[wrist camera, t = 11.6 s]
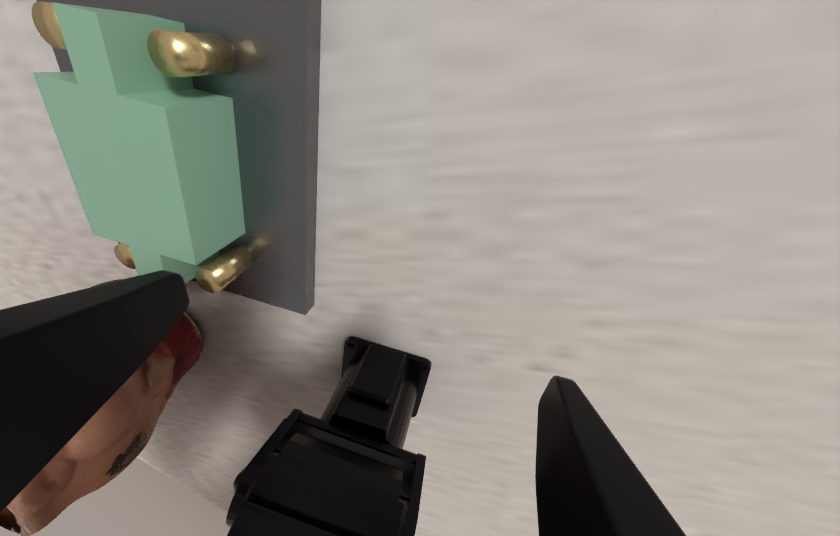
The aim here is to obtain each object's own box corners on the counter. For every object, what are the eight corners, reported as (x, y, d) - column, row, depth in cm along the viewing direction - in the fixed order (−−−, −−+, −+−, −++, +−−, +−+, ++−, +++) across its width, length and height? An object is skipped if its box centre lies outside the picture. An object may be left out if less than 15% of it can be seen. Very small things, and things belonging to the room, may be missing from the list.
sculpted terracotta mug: (196, 416, 37) (52, 580, 25) (88, 356, 35) (-118, 502, 24) (245, 304, 26) (35, 499, 15) (95, 211, 25) (-276, 346, 13)
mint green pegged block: (226, 33, 15) (148, 25, 12) (248, 268, 23) (203, 305, 19) (108, 4, 16) (2, -11, 13) (166, 244, 23) (108, 275, 20)
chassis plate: (321, -14, 15) (263, -36, 11) (313, 304, 25) (281, 345, 21) (39, -75, 16) (-93, -113, 12) (139, 252, 26) (81, 282, 22)
